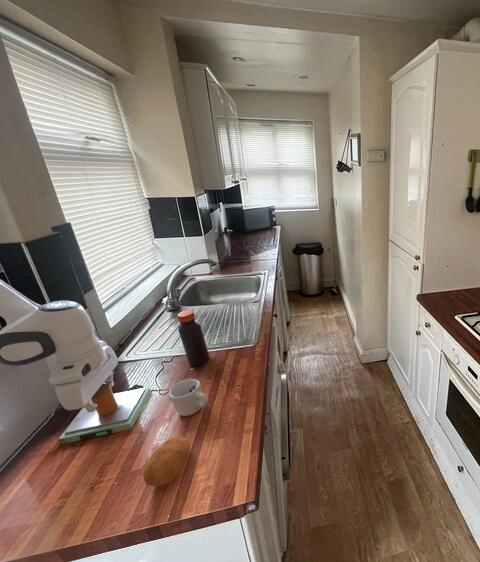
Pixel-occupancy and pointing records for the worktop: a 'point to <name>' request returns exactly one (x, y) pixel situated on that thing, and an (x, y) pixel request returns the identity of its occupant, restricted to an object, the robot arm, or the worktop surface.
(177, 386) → the cup
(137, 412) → the scale
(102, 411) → the spice jar
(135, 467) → the worktop surface
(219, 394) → the worktop surface
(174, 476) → the potato
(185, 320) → the bottle
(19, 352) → the robot arm
